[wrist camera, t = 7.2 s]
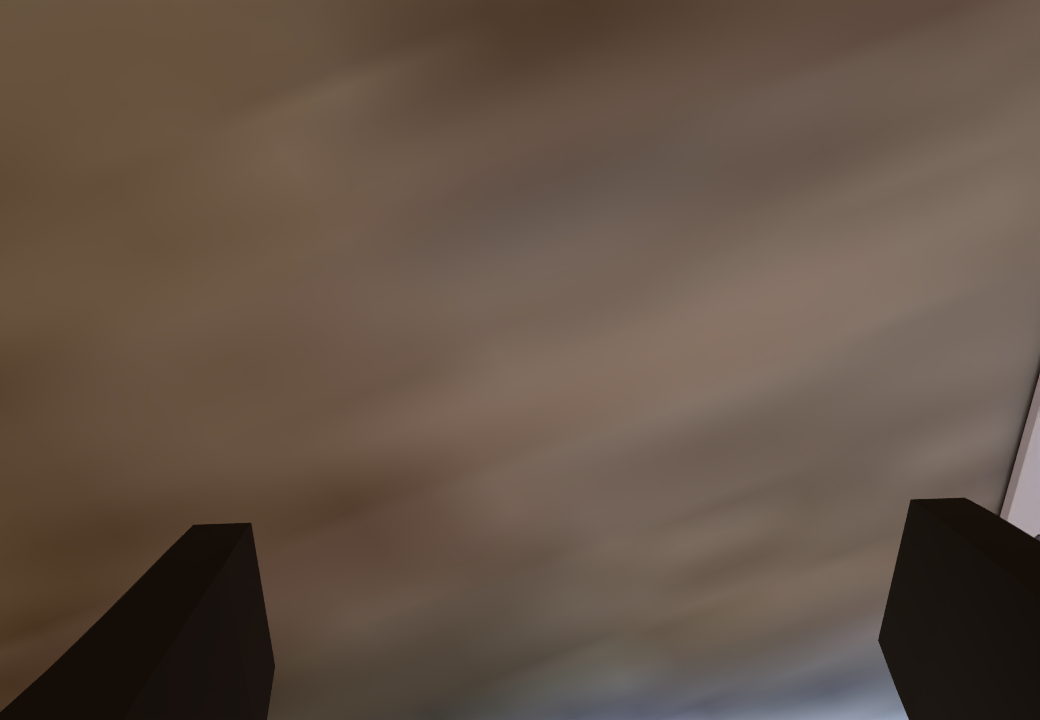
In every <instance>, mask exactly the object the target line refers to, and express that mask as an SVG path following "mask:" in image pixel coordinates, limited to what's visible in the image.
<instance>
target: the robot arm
mask: <svg viewBox="0 0 1040 720" xmlns="http://www.w3.org/2000/svg"><path fill="white" fill-rule="evenodd" d="M1039 534H1040V375H1039V379H1038V382H1037V386H1036V390H1035V393H1034V397H1033V400H1032V404H1031V407H1030V411H1029V415H1028V418H1027V422H1026V425H1025V429H1024V432H1023V436H1022V440H1021V443H1020V447H1019V450H1018V454H1017V457H1016V461H1015V465H1014V468H1013V472H1012V475H1011V479H1010V482H1009V486H1008V490H1007V493H1006V497H1005V500H1004V504H1003V508H1002V511H1001V515H1000V517H999V516H997V515H996V514H994V513H992V512H990V511H989V510H987V509H985V508H983V507H981V506H980V505H978V504H976V503H974V502H972V501H970V500H968V499H966V498H942V499H913V500H910V505H909V509H908V513H907V518H906V522H905V526H904V531H903V535H902V539H901V544H900V548H899V552H898V557H897V561H896V565H895V570H894V574H893V578H892V583H891V587H890V591H889V596H888V600H887V604H886V609H885V613H884V617H883V621H882V626H881V630H880V634H879V639H878V641H879V644H880V646H881V649H882V652H883V654H884V657H885V660H886V663H887V665H888V668H889V671H890V673H891V676H892V679H893V681H894V684H895V687H896V689H897V692H898V694H899V696H900V699H901V701H902V704H903V706H904V709H905V711H906V714H907V716H908V718H909V720H1040V536H1039V537H1037V538H1034V537H1035V536H1037V535H1039ZM274 669H275V663H274V657H273V651H272V645H271V639H270V633H269V627H268V621H267V615H266V609H265V603H264V597H263V591H262V585H261V579H260V573H259V567H258V561H257V555H256V549H255V543H254V537H253V531H252V525H251V523H233V524H204V525H193V526H192V527H191V528H190V529H189V530H188V531H187V532H186V533H185V534H184V535H183V536H182V537H181V538H180V539H179V540H178V541H177V542H176V543H175V544H173V545H172V546H171V547H170V548H169V549H168V550H167V551H166V552H165V553H164V554H163V555H162V556H161V558H160V559H159V560H158V561H157V562H156V563H155V564H154V565H153V566H152V567H151V568H150V569H149V570H148V571H147V572H146V573H145V574H144V575H143V576H142V577H141V578H140V579H139V580H138V581H137V582H136V583H135V584H134V585H133V586H132V587H131V588H130V589H129V590H128V591H127V592H126V593H125V594H124V595H123V596H122V597H121V598H120V599H119V600H118V601H117V602H116V603H115V604H114V605H113V606H112V607H111V608H110V609H109V610H108V611H107V612H106V613H105V614H104V615H103V616H102V617H101V618H100V619H99V620H98V621H97V622H96V623H95V624H94V625H93V626H92V627H91V628H90V629H89V630H88V631H87V632H86V633H85V634H84V635H83V636H82V637H81V638H80V639H79V640H78V641H77V642H76V643H75V644H74V645H73V646H72V647H71V648H69V649H68V650H67V651H66V652H65V653H64V654H63V655H62V656H61V657H60V658H59V659H58V660H57V661H56V662H55V663H54V664H53V665H52V666H51V667H50V668H49V669H48V670H47V671H46V672H45V673H44V674H42V675H41V676H40V677H39V678H38V679H37V680H36V681H35V682H33V683H32V684H31V685H30V686H29V687H28V688H27V689H26V690H25V691H23V692H22V693H21V694H20V695H19V696H18V697H17V698H16V699H15V700H13V701H12V702H11V703H10V704H9V705H8V706H7V707H6V708H5V709H3V710H2V711H1V712H0V720H267V715H268V709H269V702H270V696H271V689H272V682H273V676H274Z"/></svg>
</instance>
